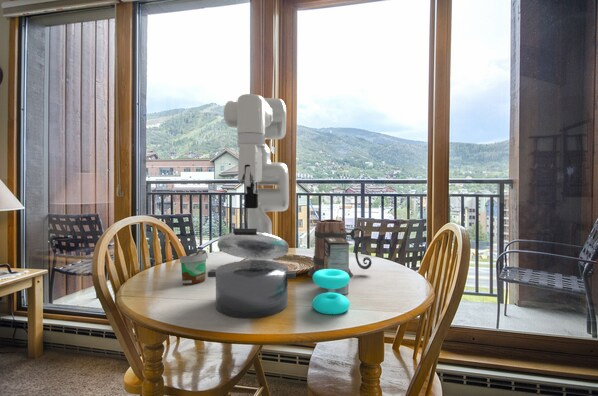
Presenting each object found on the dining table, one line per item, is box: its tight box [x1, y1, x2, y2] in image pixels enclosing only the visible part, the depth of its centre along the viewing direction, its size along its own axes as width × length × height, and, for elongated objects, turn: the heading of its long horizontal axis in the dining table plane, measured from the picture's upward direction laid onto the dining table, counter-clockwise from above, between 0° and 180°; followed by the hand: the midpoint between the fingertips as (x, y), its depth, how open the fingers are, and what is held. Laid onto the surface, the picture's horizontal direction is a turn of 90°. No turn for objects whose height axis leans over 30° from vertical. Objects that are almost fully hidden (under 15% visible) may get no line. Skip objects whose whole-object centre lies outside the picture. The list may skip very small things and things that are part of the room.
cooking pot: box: [207, 259, 297, 319], centre depth 93 cm, size 20×24×10 cm
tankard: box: [307, 219, 373, 279], centre depth 123 cm, size 24×17×20 cm
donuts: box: [312, 269, 351, 315], centre depth 89 cm, size 10×10×10 cm
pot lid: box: [217, 227, 289, 260], centre depth 94 cm, size 22×20×3 cm
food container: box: [179, 248, 209, 286], centre depth 113 cm, size 12×6×10 cm, turn 168°
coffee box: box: [324, 238, 350, 295], centre depth 105 cm, size 9×6×16 cm
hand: (251, 207), depth 91 cm, fingers closed
